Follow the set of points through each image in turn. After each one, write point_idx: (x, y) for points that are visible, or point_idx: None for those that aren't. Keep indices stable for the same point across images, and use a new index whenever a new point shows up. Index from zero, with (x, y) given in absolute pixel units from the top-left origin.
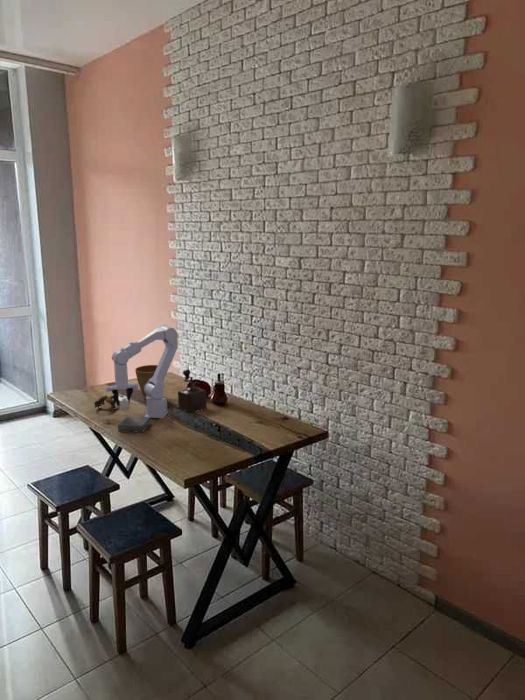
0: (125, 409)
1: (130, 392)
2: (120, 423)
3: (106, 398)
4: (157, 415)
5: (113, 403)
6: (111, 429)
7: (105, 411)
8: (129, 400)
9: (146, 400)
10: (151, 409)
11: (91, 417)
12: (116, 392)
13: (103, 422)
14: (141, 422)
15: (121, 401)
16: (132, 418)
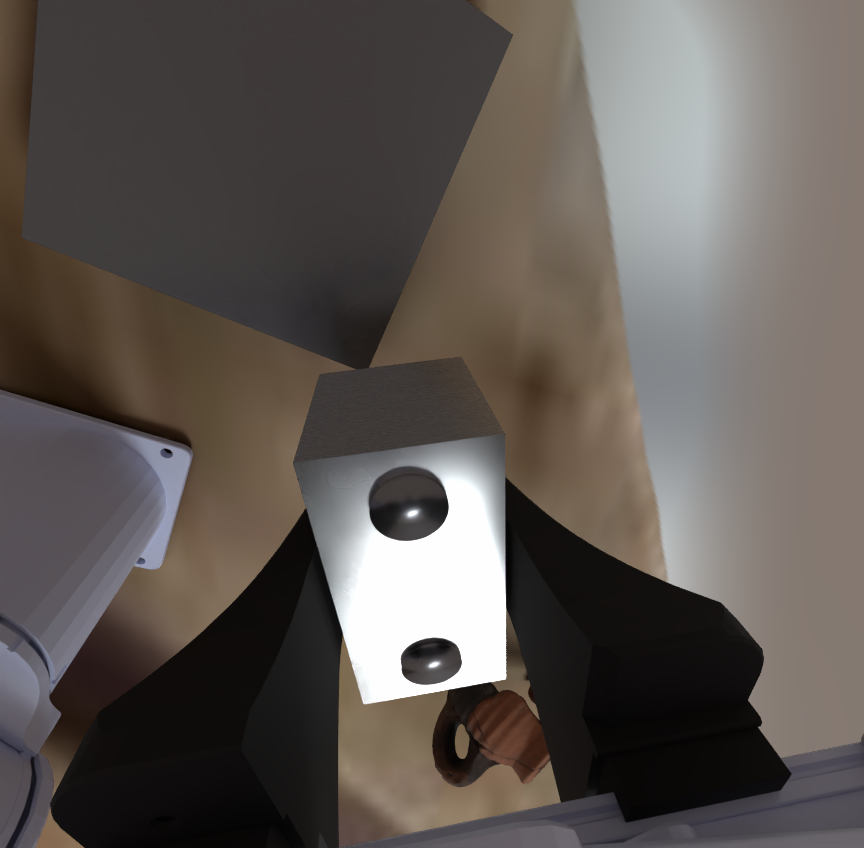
0: (380, 369)
1: (183, 692)
2: (468, 111)
3: (527, 740)
4: (15, 427)
5: (462, 696)
6: (550, 188)
7: (513, 627)
8: (292, 533)
9: (57, 620)
10: (39, 480)
11: (629, 544)
12: (655, 679)
13: (576, 422)
14: (120, 12)
15: (464, 434)
16: (293, 283)
